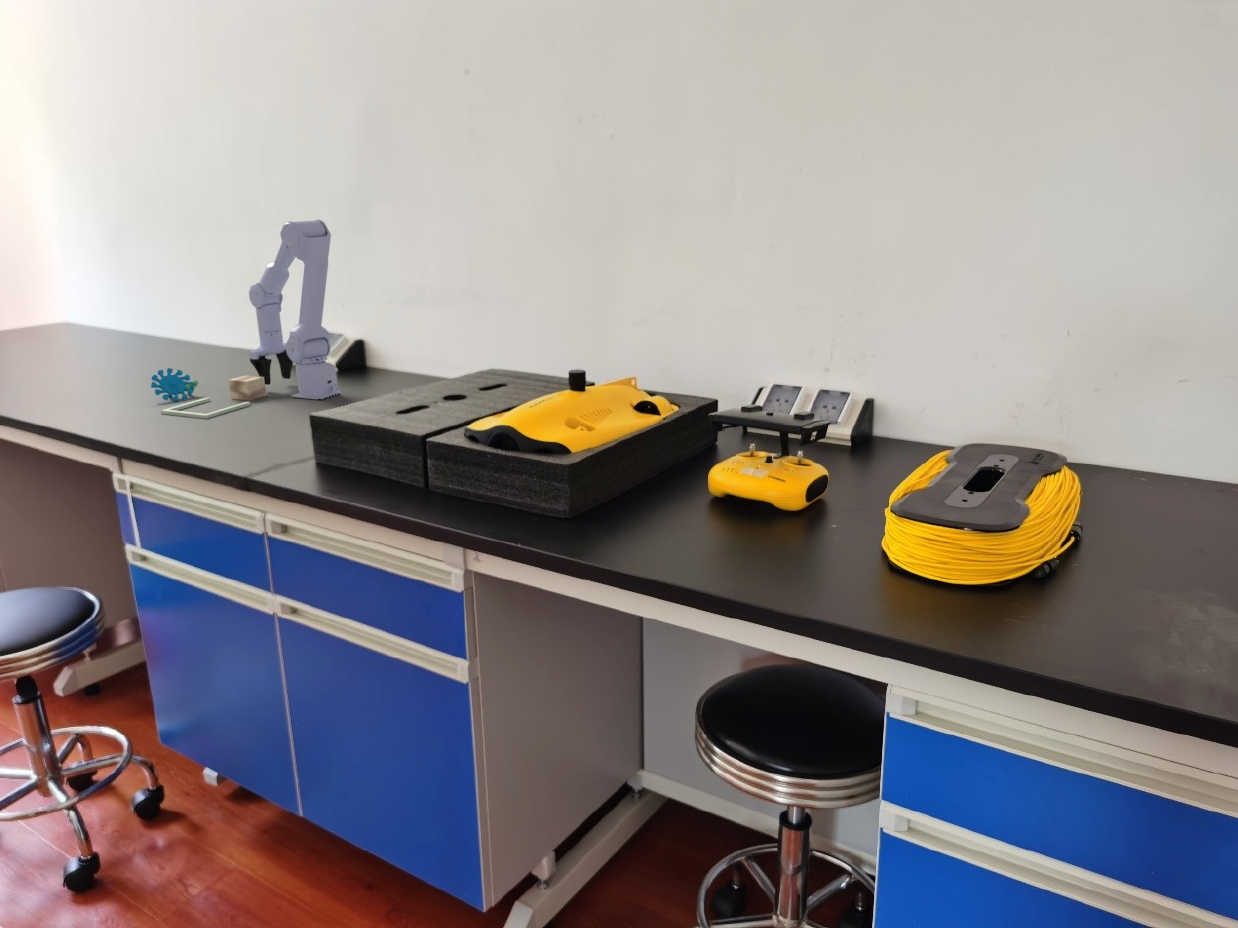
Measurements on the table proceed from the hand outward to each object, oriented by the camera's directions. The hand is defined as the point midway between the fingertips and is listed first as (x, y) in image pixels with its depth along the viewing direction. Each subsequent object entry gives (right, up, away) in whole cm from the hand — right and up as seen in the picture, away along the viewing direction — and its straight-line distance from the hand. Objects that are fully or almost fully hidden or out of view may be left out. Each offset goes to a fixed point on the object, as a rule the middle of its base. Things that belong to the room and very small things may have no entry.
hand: (276, 381), depth 243 cm
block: (-4, -5, -9) cm, 11 cm away
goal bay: (-9, -9, -21) cm, 25 cm away
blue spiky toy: (-22, -6, -10) cm, 25 cm away
